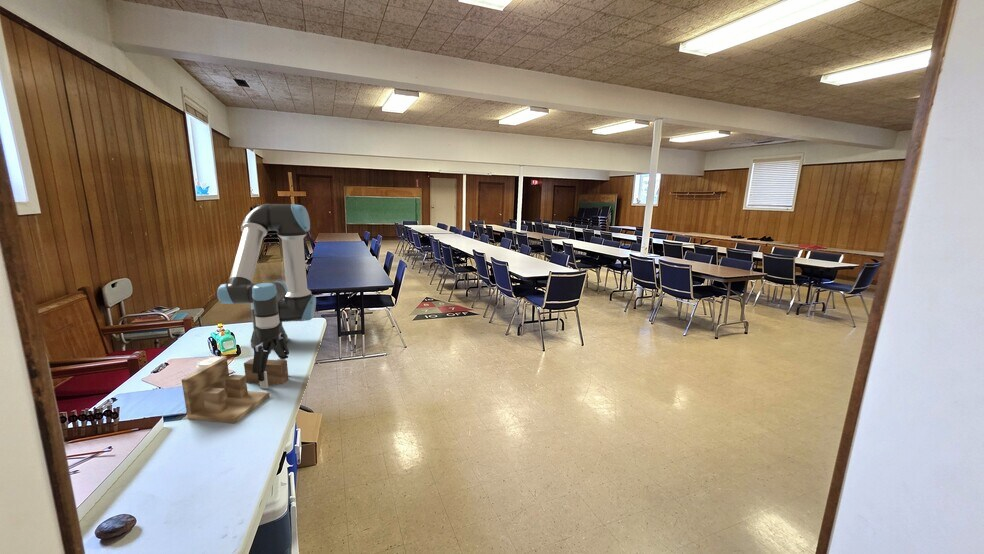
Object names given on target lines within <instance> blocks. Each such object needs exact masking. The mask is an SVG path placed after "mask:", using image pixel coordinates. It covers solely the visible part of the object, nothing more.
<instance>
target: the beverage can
mask: <svg viewBox="0 0 984 554" xmlns="http://www.w3.org/2000/svg"><path fill="white" fill-rule="evenodd" d="M221 358H223V357H222V356H218V355H213V356H208V357H204V358H202V359H200V360H198V361H197V364H196V366H195V368H196V372H197V371H199V370H200V369H202V368H204V367H206V366H208V365H210V364H212V363H214V362H215V361H217V360H219V359H221Z"/></svg>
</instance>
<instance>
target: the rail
mask: <svg viewBox="0 0 984 554" xmlns="http://www.w3.org/2000/svg"><path fill="white" fill-rule="evenodd" d="M253 359H254V358H250V359H248V360H247V361H245V362H243V367H244V375H245V376H246V383H248V384H259V380H258V374H257V373H252V370H253ZM288 369H289V368H288V360H287V359H286V360H277V359H268V360H267V364H266V368H265V371H267V380H268V385H284V384H285V383H287V382H288V381H289V378H290V376H289V370H288Z"/></svg>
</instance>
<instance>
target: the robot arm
mask: <svg viewBox="0 0 984 554" xmlns="http://www.w3.org/2000/svg"><path fill="white" fill-rule="evenodd" d="M310 229H311V220H310V216H309V212H308V210H307V208H306V207H305V206H304V205H301V204H293V203H291V204H290V203H265V204H264V203H263V204H260V205H258V206H256V207H254V208H253V209H252V210H251V211H249V212H248V213H247V214H246V216H245V217H244V218H243V221H242V223H241V226H240V231H241V232H242V234H241V236H240V240H239V244H238V248H237V252H236V253H235V254H236V255H235V258H234V262H233V264H232V265H233V266H232V269H231V272H230V274H229V275H230V276H229V279H228V283H222V284H220V285H219V286H218V288H217V291H216V293H217V295H216V296H217V299H218V301H219V302H220V303H221V304H223V305H236V304H237V305H238V304H241V305H242V304H250V311H251V319H252V328H253V330H252V334H251V339H250V347H251V348H253V358H252V359H253V370H252V373H257V374H258V380H259V383H258V384H259V388H260V389H268V388H269V384H268V380H267V371H265V368H266V364H267V360H269V356H270V354H271V352H272V351H274V352H275V355H277V357H278V358H277V359H276V360H287V359H288V358H289V355H290V351H289V348H288V345H287V343H288V341H289V338H288V335H287V332H286V331H285V329H284V326H283V322H284V323H286V322H306V321H307V322H309V321H312V319H313V318H314V316H315V313H316V307H317V306H316V305H317V298H316V296H315V295H312V290H310V289H309V288H308V282H307V279H308V278H307V271H306V270H307V268H306V257H305V256H306V255H305V244H304V243H305V241H304V239H305V237H306V236H307V232H309V231H310ZM269 231H270V232H271V231H272V232H274V231H275V232H276V234H277V236H278V238H280V239H281V246H282V254H283V255H282V256H283V265H284V266H283V268H284V276H285V283H284V282H283V281H279V280H273V281H270V282H262V283H253V279H254V275H255V271H256V268H257V264H258V260H259V256H260V252H261V247H262V242H263V239H264V238H265V237H266V236H267V234H268V232H269Z"/></svg>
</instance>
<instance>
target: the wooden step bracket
mask: <svg viewBox="0 0 984 554" xmlns="http://www.w3.org/2000/svg"><path fill="white" fill-rule="evenodd" d="M181 386H182V391H183V397H184V403H185V410H186V416H187V420H188V419H189V420H196V421H197V420H199V421H207V422H219V423H228V424H229V423H230V424H236V423H237V422H238V421H240V420H241V419H242V418H244V417H245V416H247V415H248V414H249V413H250V412H251V411H253V410H254V409H255V408H257V407H258V406H259V405H261V404H262V403H264V401H266V400H267V399H268V398H270V392H268V391H267V392H265V391H258V390H257V391H255V390H248V385H247V383H246V376H245V374H244V375H243V374H232V373H231V375H230V371H229V364H228V358H227V357H222V358H221V359H219V360H217V361H215V362H214V363H212V364H210V365H208V366H206V367H204V368H202V369H200V370H199V371H197V370H196V371H195V372H193V373H192V374H191V373H190V374H189V375H187V376H186V377H184V378H182V379H181Z"/></svg>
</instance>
